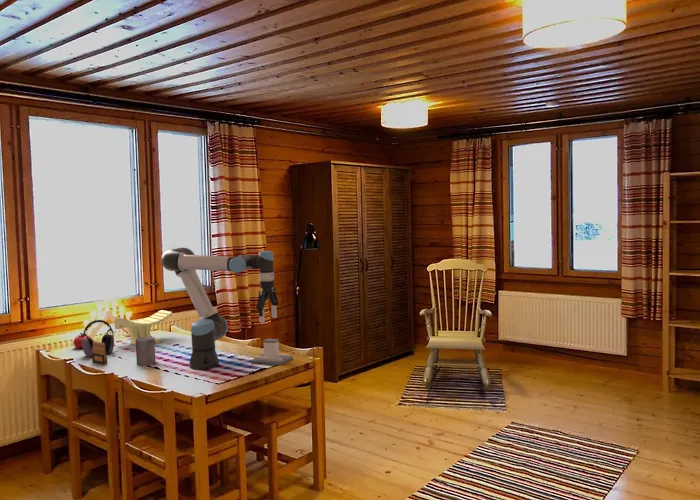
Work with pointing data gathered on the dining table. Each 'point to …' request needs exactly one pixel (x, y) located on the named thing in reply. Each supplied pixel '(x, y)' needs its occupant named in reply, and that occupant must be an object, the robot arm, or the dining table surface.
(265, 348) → the grey rectangular block
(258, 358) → the end holder
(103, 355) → the ammunition clip
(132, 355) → the dining table surface
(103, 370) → the dining table surface
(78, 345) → the pomegranate
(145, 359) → the pillar candle
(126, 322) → the slatted curved stool
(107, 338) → the headphones
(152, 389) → the dining table surface
